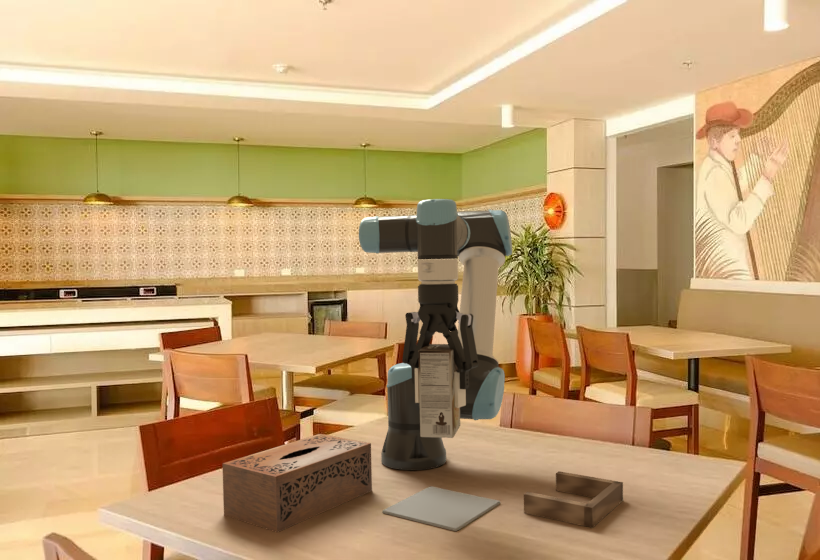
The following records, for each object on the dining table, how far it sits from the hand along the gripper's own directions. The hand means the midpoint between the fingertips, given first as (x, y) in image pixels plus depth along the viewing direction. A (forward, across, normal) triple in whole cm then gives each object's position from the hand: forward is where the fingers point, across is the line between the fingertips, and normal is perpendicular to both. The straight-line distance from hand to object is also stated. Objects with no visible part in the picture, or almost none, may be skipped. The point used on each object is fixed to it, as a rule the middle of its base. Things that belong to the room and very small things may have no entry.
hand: (440, 403), depth 128 cm
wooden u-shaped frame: (+20, +20, +14) cm, 31 cm away
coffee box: (+5, 0, 0) cm, 5 cm away
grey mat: (+20, 0, 0) cm, 20 cm away
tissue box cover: (+20, -25, -12) cm, 34 cm away
